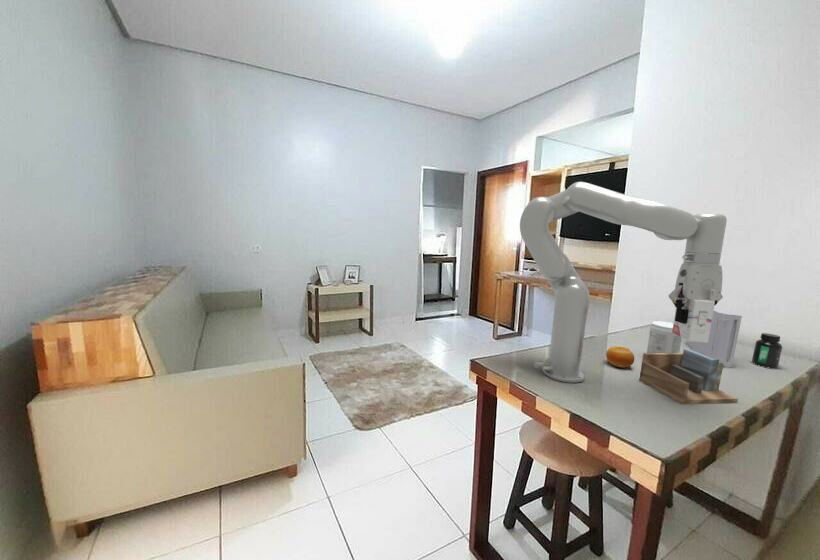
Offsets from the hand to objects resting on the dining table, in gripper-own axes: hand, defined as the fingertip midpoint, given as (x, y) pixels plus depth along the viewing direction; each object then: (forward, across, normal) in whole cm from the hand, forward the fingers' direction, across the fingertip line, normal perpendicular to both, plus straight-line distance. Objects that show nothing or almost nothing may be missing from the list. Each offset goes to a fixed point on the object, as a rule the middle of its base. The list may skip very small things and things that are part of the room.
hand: (691, 321), depth 93 cm
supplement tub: (+23, +18, +26) cm, 39 cm away
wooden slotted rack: (+23, +6, +4) cm, 24 cm away
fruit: (+23, -2, +23) cm, 32 cm away
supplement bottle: (+24, +58, +24) cm, 67 cm away
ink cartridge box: (+5, 0, 0) cm, 5 cm away
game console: (+23, +45, +34) cm, 61 cm away
